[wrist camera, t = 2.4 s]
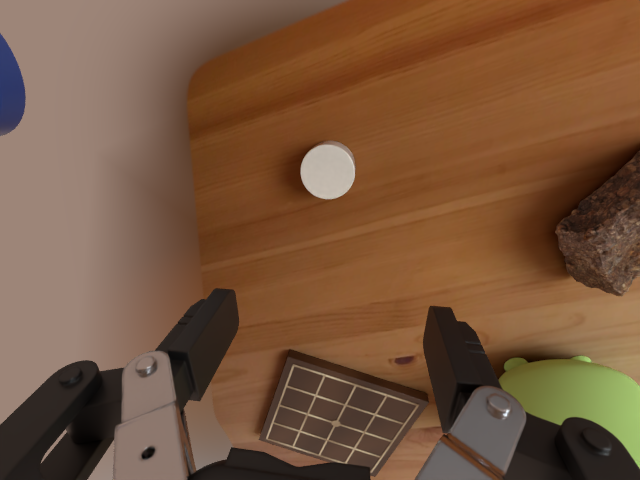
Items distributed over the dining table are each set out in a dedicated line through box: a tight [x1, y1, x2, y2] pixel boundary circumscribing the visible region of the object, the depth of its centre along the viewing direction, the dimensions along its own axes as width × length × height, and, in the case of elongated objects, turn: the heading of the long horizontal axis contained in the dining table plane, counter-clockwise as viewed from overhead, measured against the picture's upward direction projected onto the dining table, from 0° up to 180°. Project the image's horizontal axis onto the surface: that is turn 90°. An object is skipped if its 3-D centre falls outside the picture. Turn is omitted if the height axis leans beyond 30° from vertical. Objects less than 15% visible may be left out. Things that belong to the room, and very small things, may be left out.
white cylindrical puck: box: [300, 141, 356, 199], centre depth 27 cm, size 5×5×2 cm
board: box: [259, 350, 429, 477], centre depth 41 cm, size 18×18×1 cm
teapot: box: [498, 356, 640, 468], centre depth 29 cm, size 20×13×13 cm
